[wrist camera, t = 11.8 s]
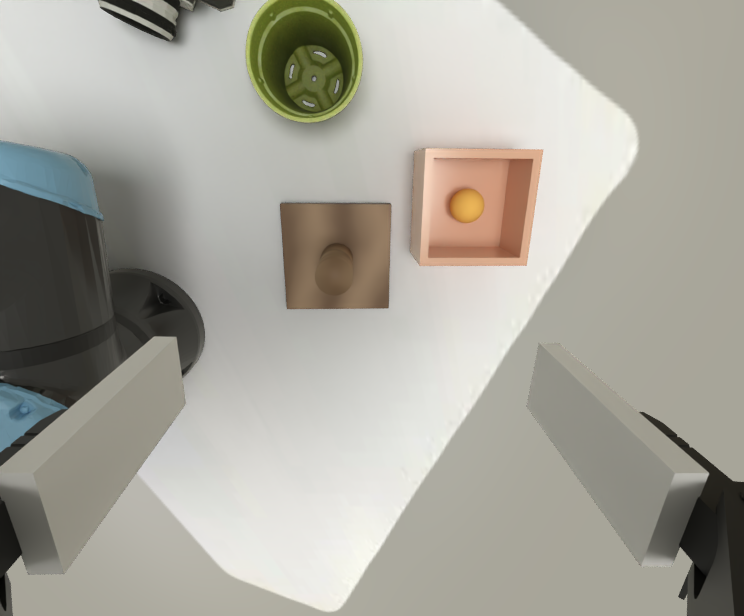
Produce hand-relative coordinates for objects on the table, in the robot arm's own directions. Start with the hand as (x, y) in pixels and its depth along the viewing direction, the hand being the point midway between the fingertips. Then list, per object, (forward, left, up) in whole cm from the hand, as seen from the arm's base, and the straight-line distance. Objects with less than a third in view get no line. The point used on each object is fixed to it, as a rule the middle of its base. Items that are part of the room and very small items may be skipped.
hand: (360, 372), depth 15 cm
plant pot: (-4, +15, -33) cm, 37 cm away
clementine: (+12, +3, -32) cm, 34 cm away
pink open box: (+12, +3, -33) cm, 35 cm away
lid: (-2, -3, -33) cm, 33 cm away
